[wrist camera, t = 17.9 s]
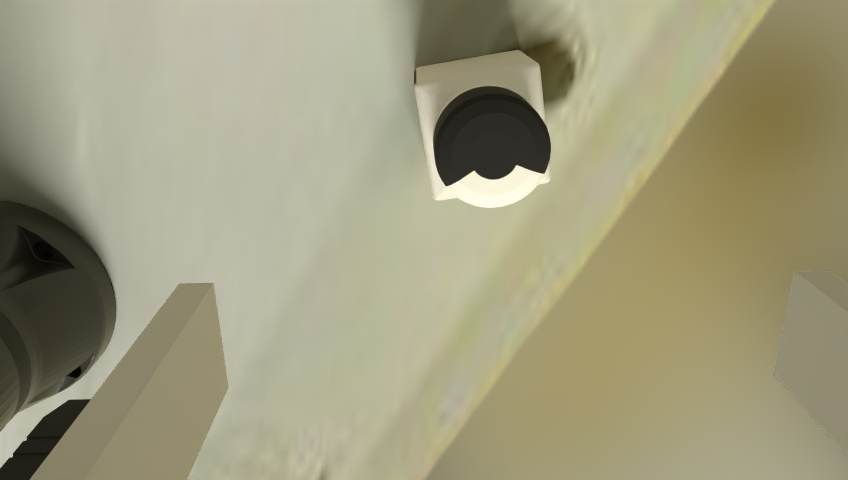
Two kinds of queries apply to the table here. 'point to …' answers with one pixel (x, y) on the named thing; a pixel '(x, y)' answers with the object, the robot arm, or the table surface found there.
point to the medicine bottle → (483, 128)
